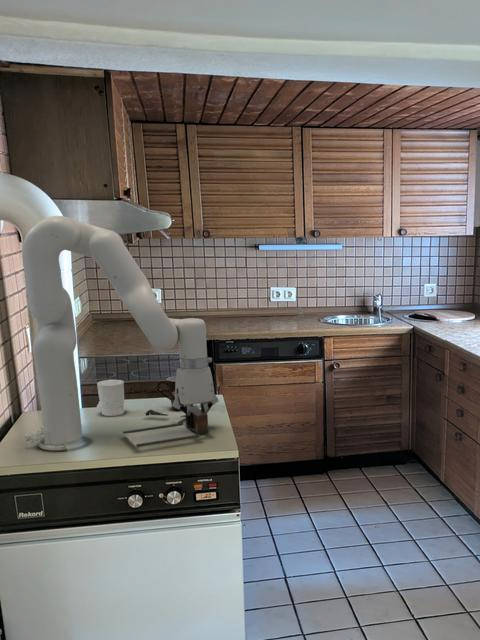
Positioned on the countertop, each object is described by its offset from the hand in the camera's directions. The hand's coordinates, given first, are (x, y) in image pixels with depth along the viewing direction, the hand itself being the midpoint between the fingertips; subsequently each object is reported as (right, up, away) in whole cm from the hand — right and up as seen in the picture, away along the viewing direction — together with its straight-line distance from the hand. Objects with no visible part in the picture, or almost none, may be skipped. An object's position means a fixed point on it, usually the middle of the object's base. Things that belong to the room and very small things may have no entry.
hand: (196, 426), depth 199 cm
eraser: (0, -1, 0) cm, 1 cm away
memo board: (-9, -4, -5) cm, 11 cm away
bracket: (-12, +1, +15) cm, 19 cm away
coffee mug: (-12, +5, +28) cm, 32 cm away
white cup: (-31, +3, +21) cm, 38 cm away
